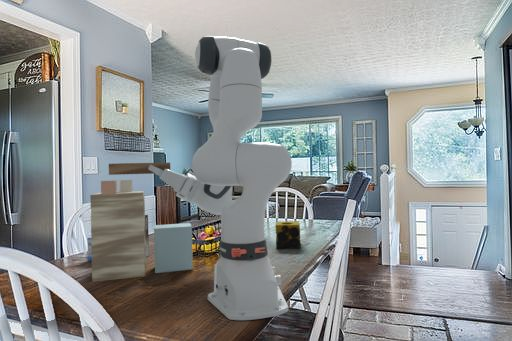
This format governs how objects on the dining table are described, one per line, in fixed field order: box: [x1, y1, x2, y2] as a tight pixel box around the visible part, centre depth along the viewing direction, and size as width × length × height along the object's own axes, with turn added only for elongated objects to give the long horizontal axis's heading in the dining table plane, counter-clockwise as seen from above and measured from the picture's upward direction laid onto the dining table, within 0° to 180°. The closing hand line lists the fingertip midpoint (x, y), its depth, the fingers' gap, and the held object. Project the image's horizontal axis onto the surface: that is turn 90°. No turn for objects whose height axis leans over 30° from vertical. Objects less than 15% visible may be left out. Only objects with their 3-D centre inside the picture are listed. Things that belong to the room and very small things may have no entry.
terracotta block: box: [100, 180, 118, 194], centre depth 107 cm, size 4×4×4 cm
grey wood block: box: [89, 190, 147, 283], centre depth 112 cm, size 13×15×26 cm
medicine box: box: [87, 236, 92, 262], centre depth 130 cm, size 8×4×9 cm, turn 62°
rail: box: [108, 162, 171, 176], centre depth 114 cm, size 3×19×4 cm, turn 106°
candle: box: [275, 220, 301, 250], centre depth 146 cm, size 10×10×10 cm
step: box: [153, 222, 194, 274], centre depth 116 cm, size 8×12×14 cm, turn 106°
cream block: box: [117, 179, 133, 192], centre depth 116 cm, size 4×4×4 cm
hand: (149, 166), depth 114 cm, fingers closed on rail, 3 cm apart
